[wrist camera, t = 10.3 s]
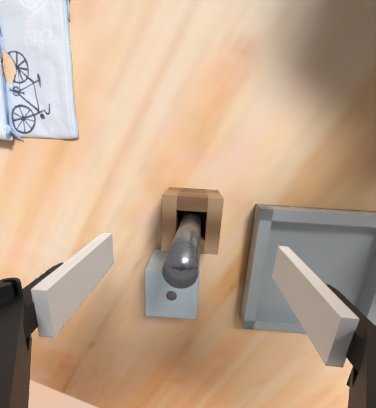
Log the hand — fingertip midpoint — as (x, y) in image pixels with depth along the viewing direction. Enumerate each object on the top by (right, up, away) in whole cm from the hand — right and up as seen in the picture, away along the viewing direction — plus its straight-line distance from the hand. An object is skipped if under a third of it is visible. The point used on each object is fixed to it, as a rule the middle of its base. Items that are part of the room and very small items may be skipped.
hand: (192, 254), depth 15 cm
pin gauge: (+1, +3, +13) cm, 13 cm away
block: (-2, -7, +16) cm, 17 cm away
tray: (+19, -6, +14) cm, 24 cm away
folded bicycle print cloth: (-25, +22, +10) cm, 35 cm away
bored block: (0, +3, +13) cm, 13 cm away
